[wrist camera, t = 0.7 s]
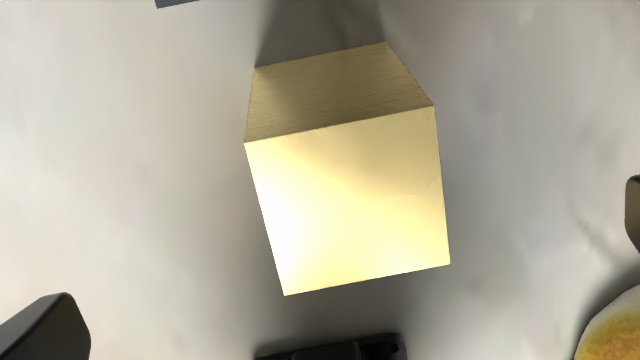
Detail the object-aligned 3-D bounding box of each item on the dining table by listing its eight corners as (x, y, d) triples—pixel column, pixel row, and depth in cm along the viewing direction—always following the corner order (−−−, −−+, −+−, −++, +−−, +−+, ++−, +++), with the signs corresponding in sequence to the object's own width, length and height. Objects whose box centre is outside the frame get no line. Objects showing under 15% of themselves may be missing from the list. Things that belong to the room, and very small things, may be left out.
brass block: (401, 161, 21) (449, 264, 15) (281, 184, 21) (284, 295, 15) (385, 41, 19) (434, 106, 13) (253, 67, 19) (244, 143, 13)
